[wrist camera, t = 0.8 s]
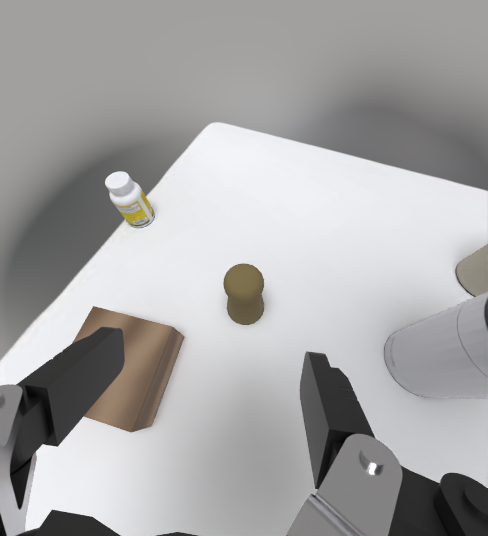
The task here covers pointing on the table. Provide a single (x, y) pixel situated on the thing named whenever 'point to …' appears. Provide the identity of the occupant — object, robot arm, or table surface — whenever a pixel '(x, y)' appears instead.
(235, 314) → the cork
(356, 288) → the table surface
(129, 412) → the walnut riser
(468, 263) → the travel mug
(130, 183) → the supplement bottle
